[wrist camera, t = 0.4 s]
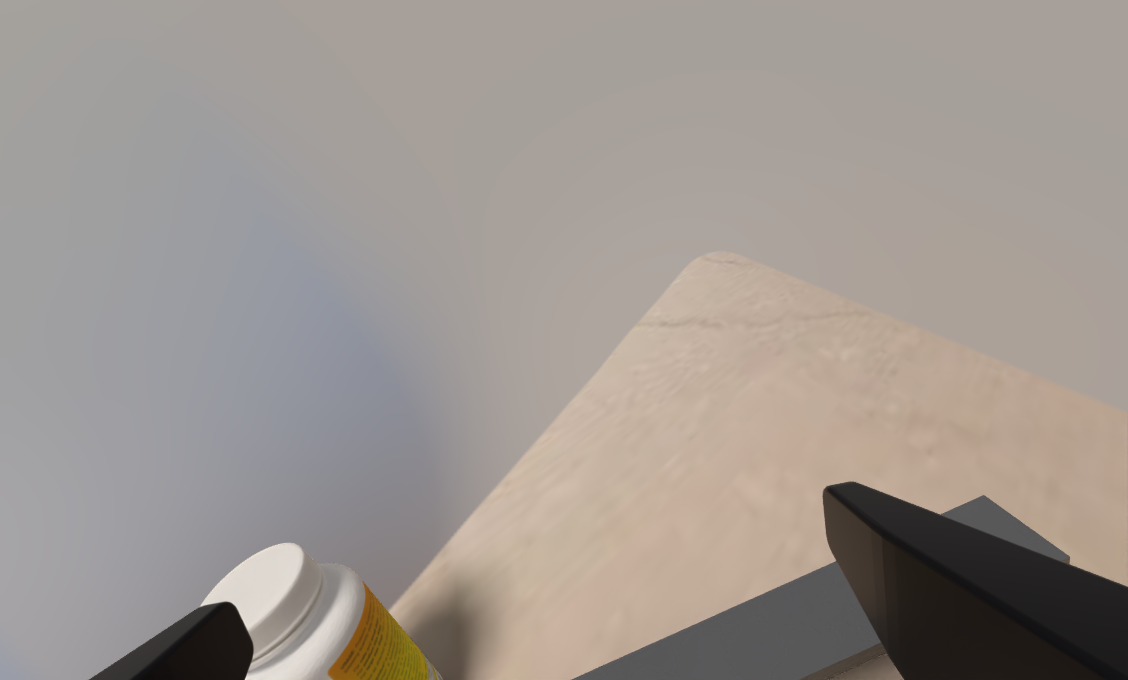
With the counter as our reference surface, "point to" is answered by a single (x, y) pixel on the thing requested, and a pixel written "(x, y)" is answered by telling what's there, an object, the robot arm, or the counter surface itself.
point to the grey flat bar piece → (794, 624)
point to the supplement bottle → (316, 621)
